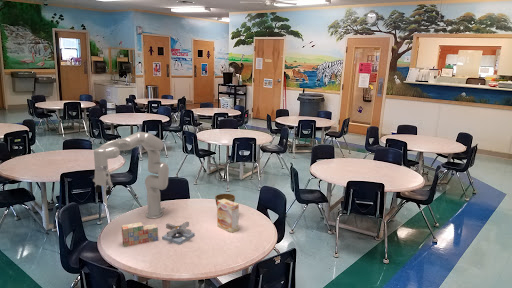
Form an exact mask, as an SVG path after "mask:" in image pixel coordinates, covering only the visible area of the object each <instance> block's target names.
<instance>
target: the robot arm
mask: <svg viewBox="0 0 512 288" xmlns="http://www.w3.org/2000/svg"><path fill="white" fill-rule="evenodd" d="M140 145H141V146H142V147H143V148H144V149H145V150H146V152H147V156H148V159H147V161H148V162H147V171H148V172H149V173H150V174H149V175H147V176H146V177H145V178H144V179H145V180H144V185H145V188H146V197H147V199H146V200H147V201H146V202H147V212H146V213H145V217H146V218H147V219H158V218H161V217H162V216H163V215H164V212H163V211H164V210H165V209H166V207H165V206H163V207H161V206H162V205H161V191H164V190H166V189H167V187H168V185H169V176H170V175H169V173H170V171H169V165H168V163H166V162H163V161H161V152H160V151H162V150H163V148H164V142H163V141H162V139H161V138H159V137H157V136H155V135H153V133H149V132H144V131H138V132H134V133H132V134H131V135H128V136H125V137H123V138H118V139H115V140H111V141H108V142H106V143H103V144H101V145H100V146H99V147H98V148H95V149H94V150H93V160H94V178H92V182H93V185H94V187H95V193H96V194H98V193H101V187H105V196H110V195H111V194H112V193H111V192H112V191H111V189H112V187H113V182H112V180H111V179H112V178H111V174H110V170H109V165H108V160H109V159H116V158H118V157H119V156H120V154H121V151H129V150H133V149H134V148H136V147H138V146H140ZM160 190H161V191H160Z"/></svg>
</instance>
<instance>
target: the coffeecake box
mask: <svg viewBox="0 0 512 288" xmlns="http://www.w3.org/2000/svg"><path fill="white" fill-rule="evenodd" d="M239 207H240V206H239V203H237V202H235V201H234V202H232V201H229V200H227V199H222V200H218V201H217V205H216V208H217V209H216V210H217V213H216V215H217V219H216V220H217V227H218V228H220V229H222V230H224V231H226V232H228V233H231V234H232V233H235V232H237V231H239V220H240V219H239V210H240V209H239Z"/></svg>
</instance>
